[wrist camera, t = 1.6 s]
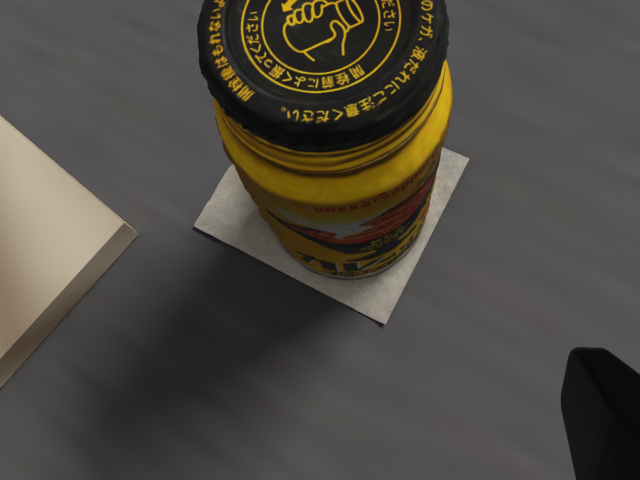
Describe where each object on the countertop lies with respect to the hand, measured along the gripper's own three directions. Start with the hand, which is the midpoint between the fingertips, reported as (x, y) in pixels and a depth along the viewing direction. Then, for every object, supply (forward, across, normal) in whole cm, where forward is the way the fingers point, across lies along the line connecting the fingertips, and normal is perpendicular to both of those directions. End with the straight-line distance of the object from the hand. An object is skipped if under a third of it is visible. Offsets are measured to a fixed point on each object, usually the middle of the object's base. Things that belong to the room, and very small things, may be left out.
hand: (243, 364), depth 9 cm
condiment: (+15, 0, +4) cm, 16 cm away
